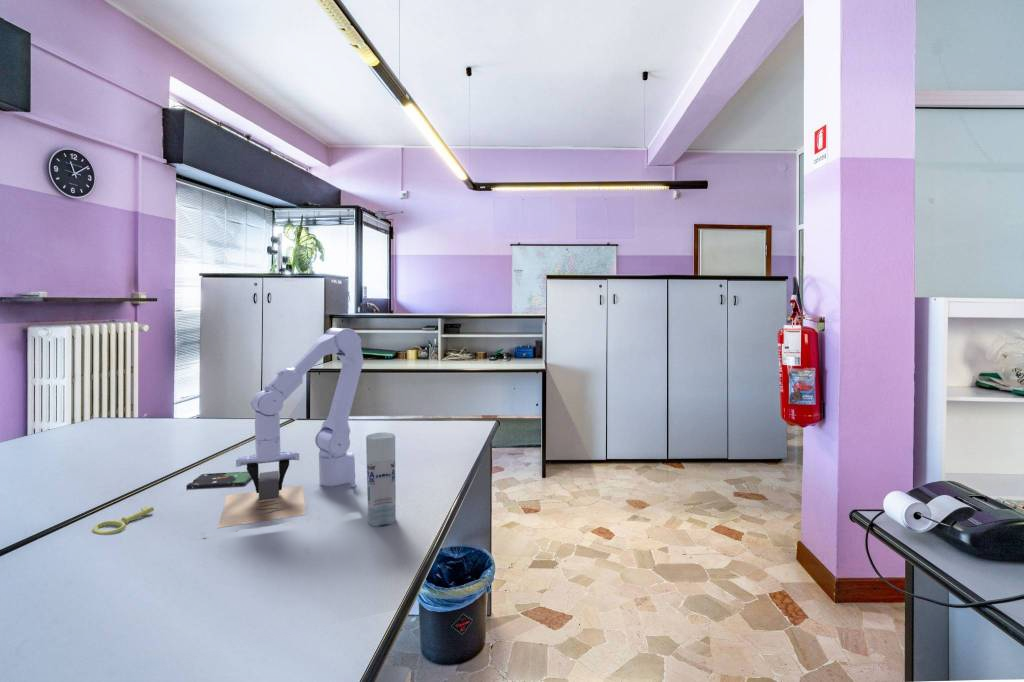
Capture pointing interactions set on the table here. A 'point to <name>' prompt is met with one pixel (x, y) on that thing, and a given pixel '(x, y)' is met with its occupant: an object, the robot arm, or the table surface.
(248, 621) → the table surface
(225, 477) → the disk drive
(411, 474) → the table surface
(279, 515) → the oak board
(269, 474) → the block
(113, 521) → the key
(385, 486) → the spray paint can
